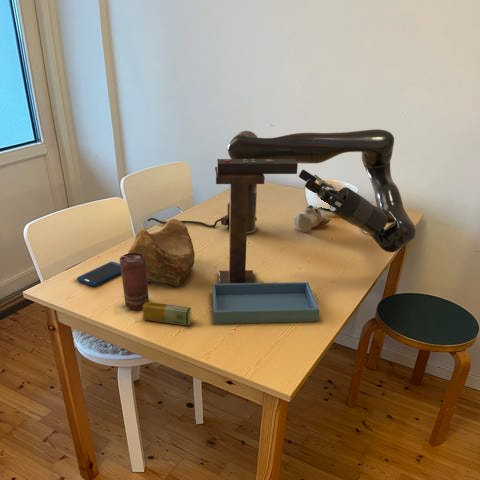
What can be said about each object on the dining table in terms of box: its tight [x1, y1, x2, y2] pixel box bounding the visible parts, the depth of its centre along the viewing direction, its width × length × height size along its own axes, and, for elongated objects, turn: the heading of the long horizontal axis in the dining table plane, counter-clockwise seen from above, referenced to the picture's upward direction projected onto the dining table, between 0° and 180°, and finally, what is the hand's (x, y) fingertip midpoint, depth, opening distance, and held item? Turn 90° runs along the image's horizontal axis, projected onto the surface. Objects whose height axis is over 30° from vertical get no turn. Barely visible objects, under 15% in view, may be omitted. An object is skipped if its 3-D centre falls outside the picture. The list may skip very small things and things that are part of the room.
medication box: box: [142, 301, 192, 327], centre depth 120 cm, size 12×3×4 cm, turn 79°
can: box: [119, 252, 150, 311], centre depth 124 cm, size 6×6×14 cm
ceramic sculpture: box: [294, 204, 332, 233], centre depth 173 cm, size 11×9×15 cm
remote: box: [216, 158, 299, 175], centre depth 121 cm, size 20×4×3 cm, turn 95°
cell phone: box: [76, 261, 122, 288], centre depth 141 cm, size 7×14×1 cm, turn 146°
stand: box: [214, 166, 266, 284], centre depth 130 cm, size 12×10×32 cm
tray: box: [211, 281, 320, 325], centre depth 127 cm, size 27×15×4 cm, turn 95°
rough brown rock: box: [127, 218, 196, 287], centre depth 137 cm, size 23×17×15 cm
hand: (303, 177), depth 124 cm, fingers open, 8 cm apart
